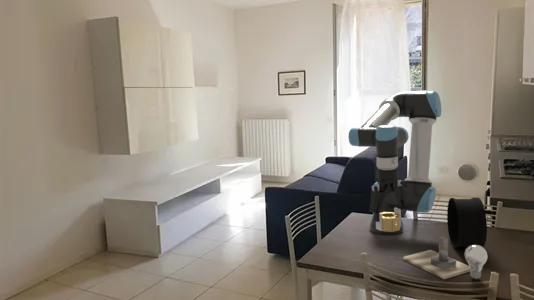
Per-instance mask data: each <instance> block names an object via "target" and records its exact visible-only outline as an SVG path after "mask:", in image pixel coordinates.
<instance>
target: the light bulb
mask: <svg viewBox="0 0 534 300" xmlns="http://www.w3.org/2000/svg"><path fill="white" fill-rule="evenodd" d="M464 259H465V261H466V262H467V264H468V266H469V268H470V272H469V275H470V277H471V278H472V279H473V280H478V279H480V278H481V277H482V271H483V267H484V265H485V264H486V262H487V260H488V252H487V250H486V249H485V247H482V246H480V245H470V246H469V247H466V248H465V250H464Z"/></svg>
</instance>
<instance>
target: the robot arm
mask: <svg viewBox="0 0 534 300" xmlns="http://www.w3.org/2000/svg"><path fill="white" fill-rule="evenodd" d="M441 115H442V103H441V98H440V95H439V93H438V92H437V91H436V90H416V91H402V92H401V91H400V92H397V93H395V94H392V95H390V96H389V97H387V98H386V99H383V101H382V102H380V104H379V108H378V109H377V110H376V112H374V113H373V114H372V115H371V117H369V118H368V119H367V120H366V121H365V122H364V123H363V124H362V125H361V126H360V127H357V126H356V127H351V128H350V130H349V131H348V143H349V144H350V146H352V147H359V148H361V147H367V148H370V147H371V148H376V149H375V150H376V167H377V169H376V178H377V181H376V182H375V183H374V184H372V185H371V186H370V191H371V192H370V200H369V201H370V202H369V210H368V211H369V212H371V213H372V217H371V220H370V223H369V230H370V231H371V232H372V233H374V234H378V235H385V236H394V235H399V234H402V233H403V232H404V229H405V228H404V224H403V220H402V216H403V211H406V212H407V211H408V212H415V213H429V212H430V211H431V210H432V208H433V206H434V203H435V201H436V195H437V194H436V188H435V186H432V185H433V184H432V183H433V182H432V181H431V180H430V178H429V177H430V175H429V173H430V164H431V163H430V162H431V148H432V134H433V125H434V124H435V123H437V118H439V117H441ZM398 118H408V121H409V122H410V124H411V134H410V146H409V157H408V160H409V161H408V173H407V177H406V178H405V179H404V180H401V179H398V178H399V169H398V167H399V151H398V149H399V148H400V147H403V146H404V145H405V144H407V142H408V141H409V132H408V130H407V129H406V128H404V127H403V126H396V125H393V124H390V123H391V122H392V121H394V120H396V119H398ZM381 212H394V213H397V214H400V230H398V231H394V232H385V231H382V213H381Z"/></svg>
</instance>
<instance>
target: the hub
mask: <svg viewBox="0 0 534 300" xmlns="http://www.w3.org/2000/svg"><path fill="white" fill-rule="evenodd" d="M381 213H382V231H385V232H394V231H398V230H400V214H397V213H394V212H381Z"/></svg>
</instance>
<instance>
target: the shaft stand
mask: <svg viewBox="0 0 534 300" xmlns="http://www.w3.org/2000/svg"><path fill="white" fill-rule="evenodd" d="M402 260H404V261H406V262H408V263H409V264H412V265H414V266H416V267H418V268H420V269H422V270H424V271H426V272H428V273H430V274H431V275H434V276H437V277H439V278H441V279H442V280H446V279H449V278H452V277H456V276H457V277H458V276H460V275H463V274H466V273H470V268H469V264H468V265H467V264H466V263H463V262H461V261H459V260H456V259H454V258H451V257H449V238H448V237H445V236H440V237H438V252H437V251H435V250H432V249H428V250H425V251H421V252H420V251H419V252H416V253H413V254H409V255H404V256H402Z"/></svg>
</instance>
